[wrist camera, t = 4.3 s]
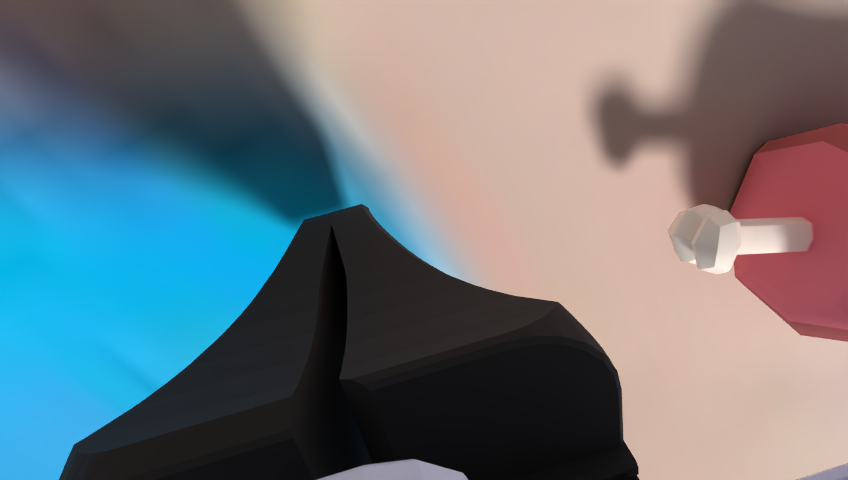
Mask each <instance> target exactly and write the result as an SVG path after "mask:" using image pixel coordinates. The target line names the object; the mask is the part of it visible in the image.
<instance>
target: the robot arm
mask: <svg viewBox="0 0 848 480" xmlns="http://www.w3.org/2000/svg"><path fill="white" fill-rule="evenodd" d="M637 475H638V465H637V463H636V460H635V458H634V457H633V455H632V453H631V452H630V450H629V449H628V447H627V445H626V444H625V442H624V440H623V419H622V391H621V385H620V381H619V377H618V372H617V370H616V369H615V367H614V366H613V364H612V362H611V361H610V359H609V357H608V356H607V354H606V353H605V351H604V350H603V349H602V347H601V346H600V345H599V344H598V342H597V341H596V340H595V339H594V338H593V336H592V335H591V334H590V333H589V332H588V331H587V330H586V329H585V328H584V327H583V326H582V325H581V324H580V323H579V322H578V321H577V320H576V319H575V318H574V317H573V316H572V315H571V314H570V313H569V312H568V311H567V310H566V309H565V308H564V307H563V306H562V305H561V304H560V303H558V302H554V301H547V300H540V299H533V298H526V297H519V296H513V295H508V294H504V293H500V292H496V291H492V290H488V289H485V288H482V287H479V286H475V285H472V284H470V283H467V282H465V281H462V280H459V279H457V278H454V277H452V276H450V275H447V274H445V273H443V272H442V271H440V270H438V269H436V268H434V267H433V266H431V265H429V264H428V263H426V262H425V261H423V260H421V259H420V258H418V257H417V256H416V255H414V254H413V253H412V252H410V251H409V250H407V249H406V248H405V247H404V246H402V245H401V244H400V243H399V242H398V241H397V240H395V239H394V238H393V237H392V236H391V235H390V234H389V233H388V232H387V231H386V230H385V229H384V228H383V227H382V226H381V225H380V224H379V223H378V222H377V221H376V220H375V218H374V217H373V216H372V214H371V213H370V211H369V208H368V207H366V206H364V205H362V204H360V205H357V206H353V207H349V208H346V209H342V210H339V211H335V212H331V213H328V214H324V215H321V216H317V217H314V218H310V219H306V220H304V221H303V223H302V224H301V226H300V228H299V229H298V231H297V233H296V234H295V236H294V238H293V240H292V241H291V243H290V245H289V247H288V248H287V250H286V252H285V254H284V255H283V257H282V259H281V260H280V262H279V263H278V265H277V267H276V268H275V270H274V271H273V273H272V274H271V276H270V277H269V278H268V280H267V281H266V283H265V284H264V285H263V287H262V288H261V290H260V291H259V293H258V294H257V295H256V297H255V298H254V299H253V301H252V302H251V303H250V304H249V306H248V307H247V308H246V309H245V310H244V312H243V313H242V314H241V315H240V316H239V317H238V318H237V319H236V320H235V322H234V323H233V324H232V325H231V326H230V327H229V328H228V329H227V330H226V331H225V332H224V333H223V334H222V335H221V336H220V337H219V338H218V339H217V340H216V341H215V342H214V343H213V344H212V345H211V346H209V347H208V348H207V349H206V350H205V351H204V352H203V353H202V354H201V355H200V356H199V357H197V358H196V359H195V360H194V361H193V362H192V363H191V364H190V365H189V366H187V367H186V368H185V369H184V370H183V371H181V372H180V373H179V374H178V375H176V376H175V377H174V378H173V379H171V380H170V381H169V382H168V383H166V384H165V385H164V386H162V387H161V388H160V389H158V390H157V391H155V392H154V393H153V394H151V395H150V396H149V397H147V398H146V399H145V400H143V401H142V402H140V403H139V404H137V405H136V406H135V407H133V408H132V409H130V410H129V411H127V412H125V413H124V414H122V415H121V416H119V417H118V418H116V419H114V420H113V421H111V422H110V423H108V424H107V425H105V426H104V427H102V428H100V429H99V430H97V431H96V432H94V433H93V434H91V435H89V436H88V437H86V438H85V439H83V440H81V441H79V442H78V443H76V444H74V446H73V448H72V450H71V452H70V455H69V457H68V459H67V462H66V464H65V466H64V469H63V471H62V474H61V476H60V478H59V480H639V478H638V477H637ZM797 480H848V463H847V464H844V465H841V466H838V467H835V468H831V469H828V470H825V471H822V472H819V473H816V474H813V475H810V476H806V477H803V478H800V479H797Z"/></svg>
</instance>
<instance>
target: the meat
mask: <svg viewBox="0 0 848 480" xmlns="http://www.w3.org/2000/svg"><path fill="white" fill-rule="evenodd" d="M668 232H669V235H670V238H671V241H672V244H673V247H674V250H675V252H676V254H677V255H678V257H679V259H680V260H681V261H685V262H688V263H692V264H697V267H698V268H699V269H700V270H704V271H707V272H711V273H715V274H720V273H724V272H728V271H729V270H730V269H731V267H732V265H733V263H734V270H735V277H736V278H737V279H738V280H739V281H740V282H741V283H742V284H743V285H744V286H746V287H747V288H748V289H749V290H750V291H751V292H752V293H753V294H755V295H756V296H757V297H758V298H759V299H760V300H761V301H763V302H764V303H765V304H766V305H767V306H768V307H769V308H770V309H772V310H773V311H774V312H775V313H776V314H777V315H778V316H780V317H781V318H782V319H783V320H784V321H785V322H786V323H787V324H789V325H790V326H791V327H792V328H793V329H794V330H795V331H797V332H798V333H799V334H800V335H804V336H811V337H818V338H826V339H833V340H840V341H847V342H848V124H845V123H839V124H835V125H831V126H827V127H823V128H819V129H815V130H811V131H807V132H803V133H799V134H795V135H791V136H787V137H783V138H778V139H774V140H770V141H767V142H766V143H765V144H764V145H763V146H762V147H761V148H760V149H759V150H758V151H757V152H756V153H755V154H754V156H753V159H752V161H751V163H750V166H749V168H748V170H747V173H746V175H745V177H744V180H743V182H742V185H741V187H740V189H739V192H738V194H737V196H736V199H735V201H734V203H733V206H732V208H731V210H730V213H729V212H728V211H727V210H722V209H719V208H717V207H715V206H711V205H707V204H703V205H699V206H695V207H692V208H689V209H687V210H685V211H682V212H680V213H679V214H678V215H677V217H676V218H675V220H674V221H673V223H672V224H671V226H670V227H669V229H668Z"/></svg>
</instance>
